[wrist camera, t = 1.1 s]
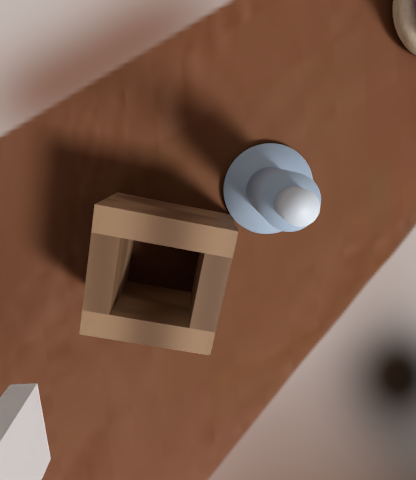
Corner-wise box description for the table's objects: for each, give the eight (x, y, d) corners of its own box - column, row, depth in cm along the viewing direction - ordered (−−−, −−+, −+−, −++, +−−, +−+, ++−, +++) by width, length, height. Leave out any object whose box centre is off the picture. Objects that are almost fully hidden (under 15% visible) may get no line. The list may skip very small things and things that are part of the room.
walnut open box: (103, 297, 29) (79, 334, 23) (117, 192, 26) (94, 204, 21) (207, 314, 29) (210, 355, 23) (229, 214, 27) (238, 231, 21)
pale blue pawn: (215, 223, 27) (222, 258, 18) (234, 134, 25) (252, 126, 17) (298, 239, 28) (344, 280, 19) (322, 153, 26) (384, 154, 17)
